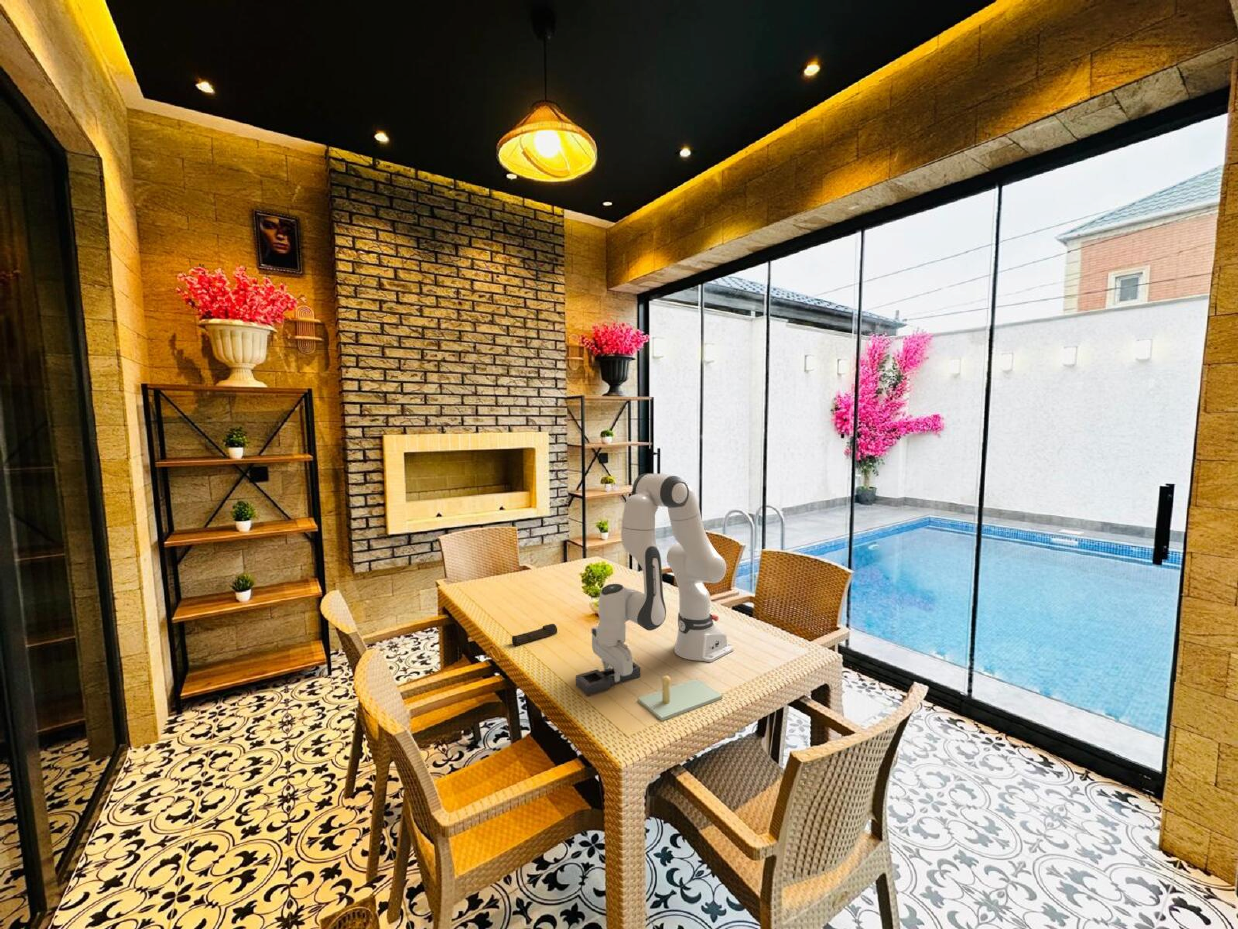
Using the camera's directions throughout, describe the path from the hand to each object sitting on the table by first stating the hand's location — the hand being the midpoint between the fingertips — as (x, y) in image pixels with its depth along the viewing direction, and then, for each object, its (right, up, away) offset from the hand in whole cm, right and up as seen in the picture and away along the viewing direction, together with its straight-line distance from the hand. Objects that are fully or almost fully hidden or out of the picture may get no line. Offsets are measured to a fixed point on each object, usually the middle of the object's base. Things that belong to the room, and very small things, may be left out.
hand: (611, 676), depth 162 cm
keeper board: (+21, -3, -10) cm, 24 cm away
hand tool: (-30, +1, +32) cm, 44 cm away
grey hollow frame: (-1, -2, 0) cm, 2 cm away
